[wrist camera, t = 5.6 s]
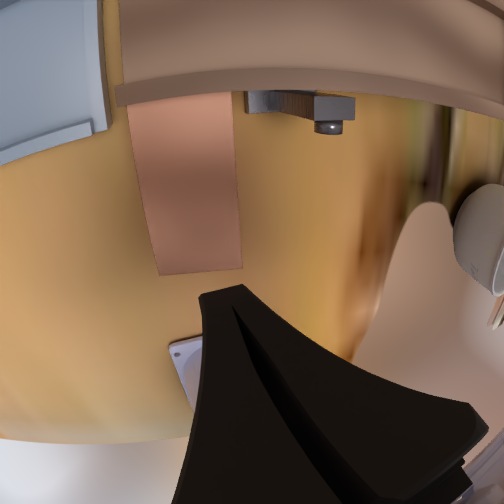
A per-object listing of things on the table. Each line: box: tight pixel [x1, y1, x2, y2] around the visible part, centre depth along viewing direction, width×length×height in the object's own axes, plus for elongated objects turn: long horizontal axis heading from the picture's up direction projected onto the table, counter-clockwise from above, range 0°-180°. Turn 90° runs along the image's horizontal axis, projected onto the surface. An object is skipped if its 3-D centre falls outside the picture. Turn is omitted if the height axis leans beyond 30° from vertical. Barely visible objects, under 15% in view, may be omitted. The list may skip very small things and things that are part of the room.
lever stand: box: [244, 90, 355, 135], centre depth 11 cm, size 11×4×6 cm, turn 3°
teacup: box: [453, 184, 504, 297], centre depth 25 cm, size 14×11×8 cm
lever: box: [115, 0, 504, 276], centre depth 11 cm, size 15×20×3 cm
